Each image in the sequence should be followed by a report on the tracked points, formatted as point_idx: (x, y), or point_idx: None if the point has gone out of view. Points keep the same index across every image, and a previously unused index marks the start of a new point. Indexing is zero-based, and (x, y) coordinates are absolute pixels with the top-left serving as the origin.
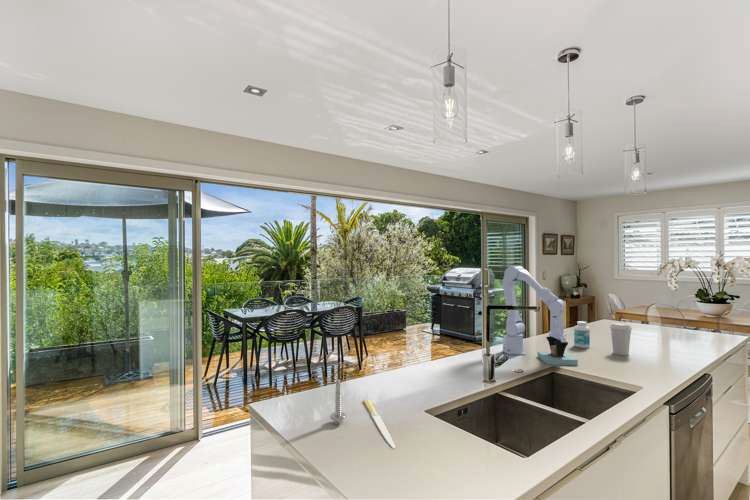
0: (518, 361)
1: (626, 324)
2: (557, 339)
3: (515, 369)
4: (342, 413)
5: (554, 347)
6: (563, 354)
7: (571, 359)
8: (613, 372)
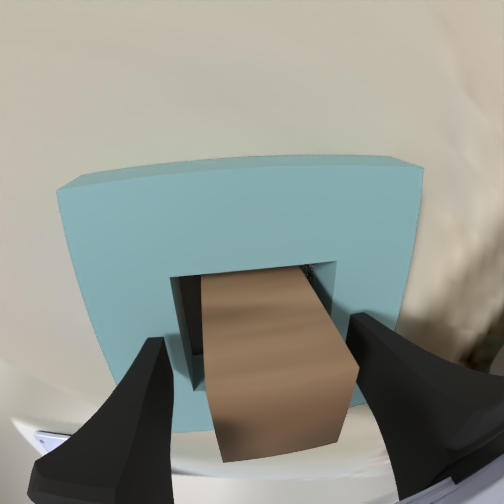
0: (277, 468)
1: None
2: (133, 480)
3: (387, 457)
4: None
5: (331, 440)
6: (378, 321)
7: (409, 231)
8: (501, 10)
